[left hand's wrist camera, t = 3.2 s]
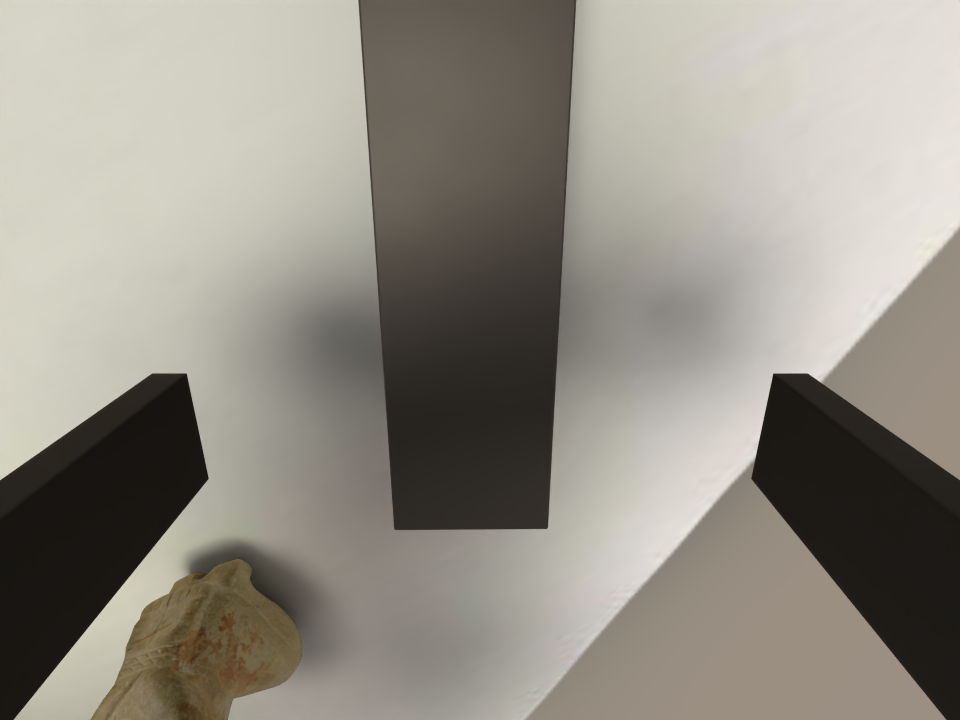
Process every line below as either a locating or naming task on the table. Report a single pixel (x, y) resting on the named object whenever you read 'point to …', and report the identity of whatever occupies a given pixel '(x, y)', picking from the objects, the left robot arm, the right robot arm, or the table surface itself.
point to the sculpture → (203, 650)
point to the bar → (469, 249)
